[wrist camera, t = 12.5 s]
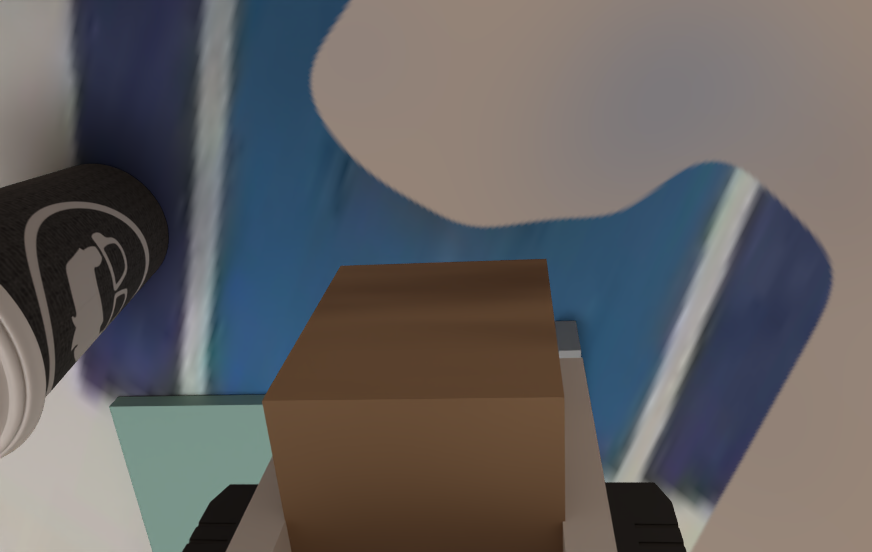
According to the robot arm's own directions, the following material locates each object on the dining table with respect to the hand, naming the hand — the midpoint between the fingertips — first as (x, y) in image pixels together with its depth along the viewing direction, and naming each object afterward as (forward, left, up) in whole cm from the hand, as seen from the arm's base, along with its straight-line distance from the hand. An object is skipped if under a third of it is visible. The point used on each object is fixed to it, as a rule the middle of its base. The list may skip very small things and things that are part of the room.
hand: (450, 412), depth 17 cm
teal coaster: (+17, -15, -18) cm, 29 cm away
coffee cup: (+1, -19, -19) cm, 27 cm away
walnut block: (0, 0, 0) cm, 0 cm away
